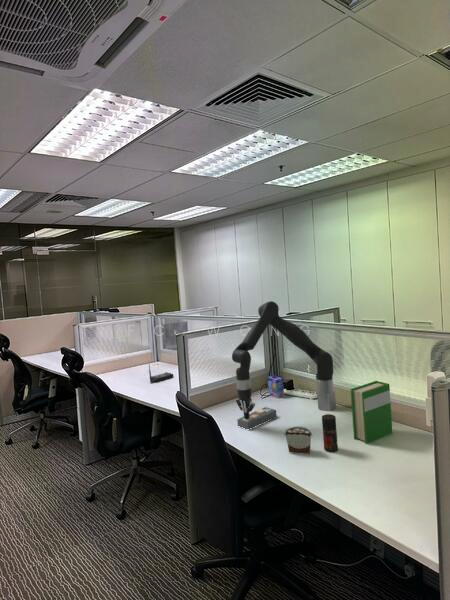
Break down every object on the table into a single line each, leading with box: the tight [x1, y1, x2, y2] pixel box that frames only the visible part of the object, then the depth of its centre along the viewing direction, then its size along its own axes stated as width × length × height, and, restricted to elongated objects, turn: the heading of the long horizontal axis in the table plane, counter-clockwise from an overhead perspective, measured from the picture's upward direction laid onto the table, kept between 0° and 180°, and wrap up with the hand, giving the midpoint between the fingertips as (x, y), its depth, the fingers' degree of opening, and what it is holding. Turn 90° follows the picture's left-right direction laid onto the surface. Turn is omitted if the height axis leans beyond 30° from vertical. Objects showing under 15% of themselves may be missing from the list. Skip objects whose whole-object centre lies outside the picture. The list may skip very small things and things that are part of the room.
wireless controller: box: [148, 363, 174, 385], centre depth 315 cm, size 20×14×17 cm
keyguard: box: [236, 406, 278, 430], centre depth 211 cm, size 8×22×4 cm, turn 131°
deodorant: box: [321, 413, 339, 453], centre depth 172 cm, size 6×6×15 cm
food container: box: [283, 426, 313, 455], centre depth 174 cm, size 12×6×10 cm, turn 71°
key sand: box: [254, 408, 265, 416], centre depth 213 cm, size 4×4×3 cm
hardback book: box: [350, 380, 393, 445], centre depth 181 cm, size 18×7×24 cm, turn 119°
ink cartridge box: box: [267, 373, 285, 399], centre depth 251 cm, size 10×6×14 cm, turn 29°
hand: (246, 418), depth 206 cm, fingers closed
